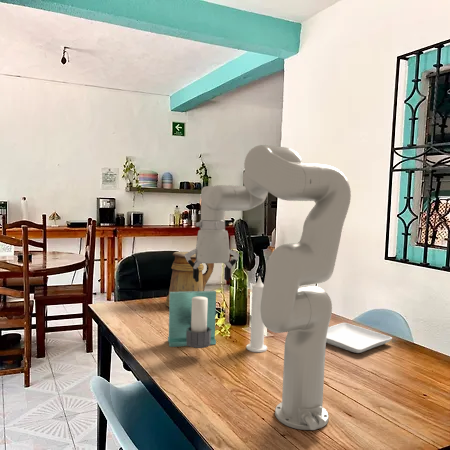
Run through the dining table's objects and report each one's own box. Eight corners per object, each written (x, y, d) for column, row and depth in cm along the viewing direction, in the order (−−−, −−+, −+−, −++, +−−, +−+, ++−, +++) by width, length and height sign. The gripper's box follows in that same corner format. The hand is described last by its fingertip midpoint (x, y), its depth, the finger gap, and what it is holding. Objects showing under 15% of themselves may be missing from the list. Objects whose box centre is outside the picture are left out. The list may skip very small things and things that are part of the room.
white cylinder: (207, 343, 138) (209, 300, 137) (192, 344, 137) (193, 300, 136) (204, 338, 143) (206, 296, 142) (189, 339, 142) (190, 296, 141)
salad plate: (359, 359, 144) (359, 348, 143) (308, 340, 160) (309, 331, 160) (393, 346, 157) (394, 336, 157) (343, 330, 173) (344, 321, 173)
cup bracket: (225, 359, 138) (226, 303, 137) (174, 362, 135) (175, 305, 133) (212, 338, 158) (213, 289, 156) (167, 340, 154) (168, 290, 152)
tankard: (158, 303, 203) (159, 250, 201) (202, 297, 217) (203, 247, 215) (177, 313, 189) (178, 255, 187) (222, 306, 202) (224, 252, 200)
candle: (266, 353, 145) (269, 279, 143) (244, 351, 146) (247, 277, 144) (268, 346, 152) (271, 275, 150) (248, 344, 153) (250, 273, 151)
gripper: (187, 226, 130) (186, 283, 131) (242, 227, 134) (241, 282, 135) (183, 225, 137) (182, 279, 138) (236, 225, 142) (235, 277, 143)
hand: (211, 280), depth 137 cm, fingers open, 9 cm apart
